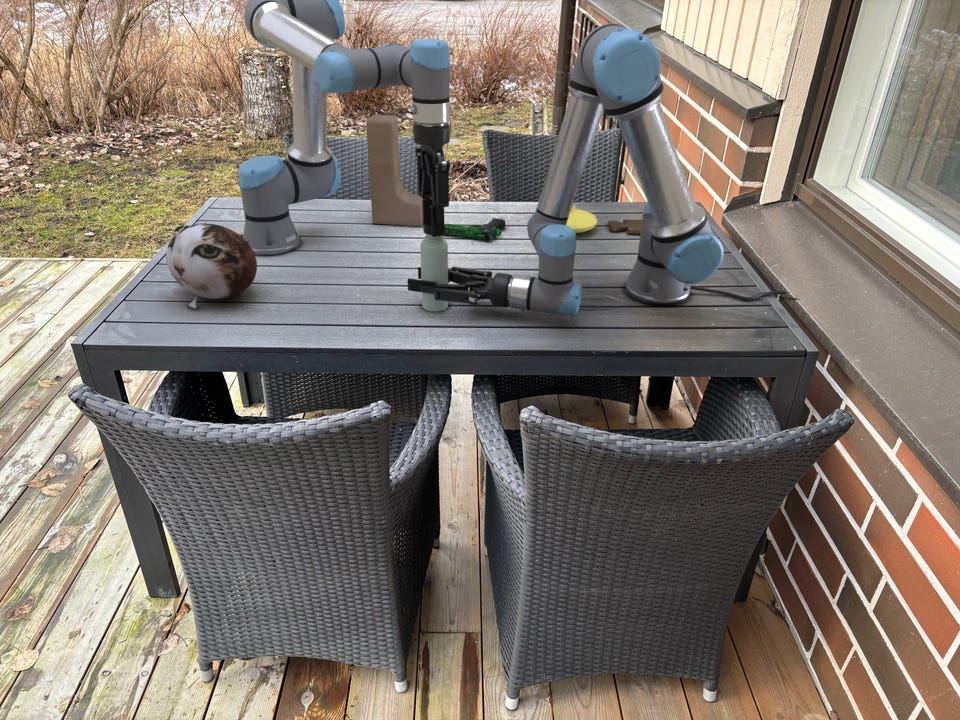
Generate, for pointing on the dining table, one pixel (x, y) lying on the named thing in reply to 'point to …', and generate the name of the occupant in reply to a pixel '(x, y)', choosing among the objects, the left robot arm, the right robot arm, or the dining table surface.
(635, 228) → the dark wooden board
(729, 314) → the dining table surface
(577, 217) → the yellow low dome
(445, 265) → the bottle
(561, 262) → the right robot arm
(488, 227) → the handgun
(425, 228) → the cap
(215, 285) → the cat face balloon
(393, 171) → the decorative block
